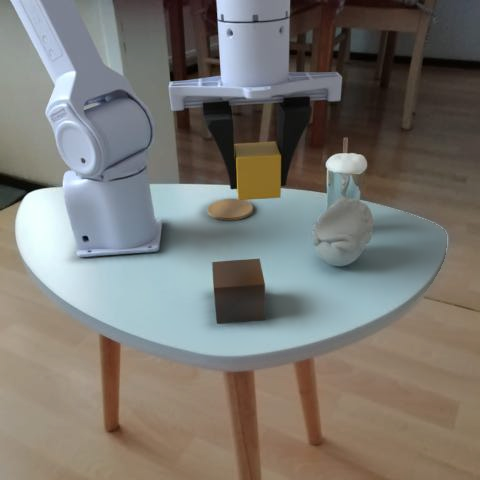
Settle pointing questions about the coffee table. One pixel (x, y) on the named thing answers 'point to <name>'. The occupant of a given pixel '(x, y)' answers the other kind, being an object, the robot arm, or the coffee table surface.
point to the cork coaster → (230, 209)
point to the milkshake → (345, 175)
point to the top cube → (258, 170)
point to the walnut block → (238, 290)
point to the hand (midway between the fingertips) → (257, 183)
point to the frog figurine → (343, 231)
